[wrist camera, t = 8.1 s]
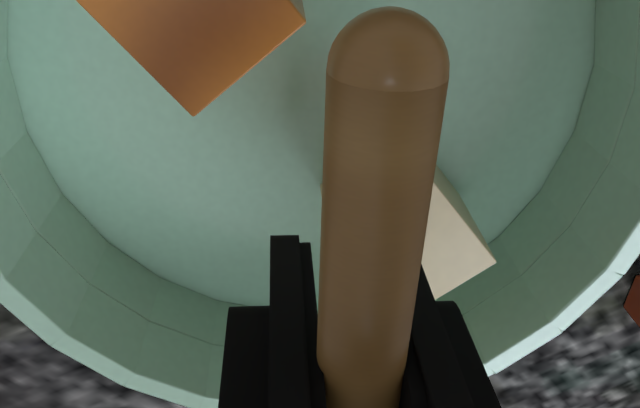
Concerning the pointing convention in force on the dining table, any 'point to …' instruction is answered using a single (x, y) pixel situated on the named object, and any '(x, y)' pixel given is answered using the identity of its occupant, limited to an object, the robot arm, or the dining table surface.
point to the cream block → (451, 240)
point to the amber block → (198, 40)
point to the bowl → (302, 179)
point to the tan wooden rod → (376, 198)
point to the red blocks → (634, 301)
